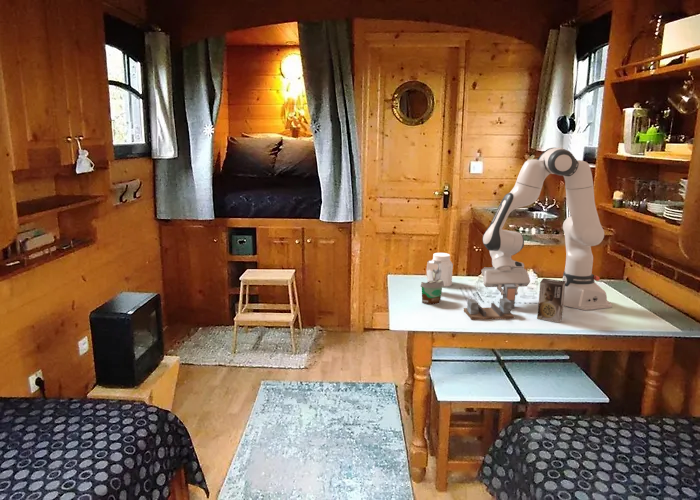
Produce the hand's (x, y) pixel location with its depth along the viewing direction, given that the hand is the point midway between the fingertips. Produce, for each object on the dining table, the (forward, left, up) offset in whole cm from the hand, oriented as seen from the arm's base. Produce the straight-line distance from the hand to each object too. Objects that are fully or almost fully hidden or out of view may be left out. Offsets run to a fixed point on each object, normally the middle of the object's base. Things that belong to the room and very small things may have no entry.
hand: (509, 294), depth 238 cm
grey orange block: (0, -1, -6) cm, 6 cm away
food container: (+31, -9, -6) cm, 33 cm away
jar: (+21, -38, -6) cm, 44 cm away
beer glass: (+28, -24, -6) cm, 37 cm away
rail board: (+12, +8, -6) cm, 16 cm away
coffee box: (-12, +14, -6) cm, 20 cm away
